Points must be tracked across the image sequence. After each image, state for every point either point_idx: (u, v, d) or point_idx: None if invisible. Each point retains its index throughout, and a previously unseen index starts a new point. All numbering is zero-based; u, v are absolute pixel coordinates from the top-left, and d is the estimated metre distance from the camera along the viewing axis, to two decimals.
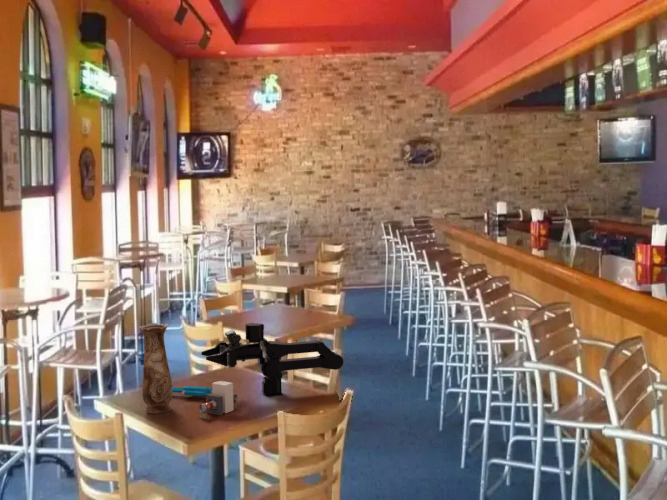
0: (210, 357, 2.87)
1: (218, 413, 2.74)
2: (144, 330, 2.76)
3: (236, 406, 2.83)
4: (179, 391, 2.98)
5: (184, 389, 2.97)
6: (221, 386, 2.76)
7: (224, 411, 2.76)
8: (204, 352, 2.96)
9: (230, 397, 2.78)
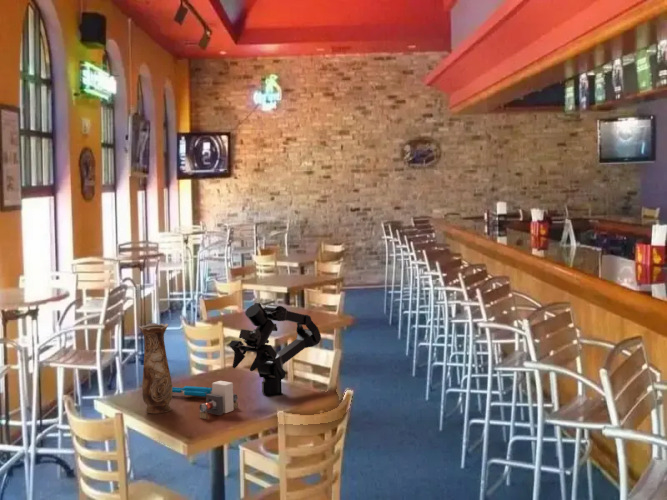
0: (253, 366, 2.85)
1: (218, 413, 2.74)
2: (144, 330, 2.76)
3: (236, 406, 2.83)
4: (179, 391, 2.98)
5: (184, 389, 2.97)
6: (221, 386, 2.76)
7: (224, 411, 2.76)
8: (234, 364, 2.90)
9: (230, 397, 2.78)
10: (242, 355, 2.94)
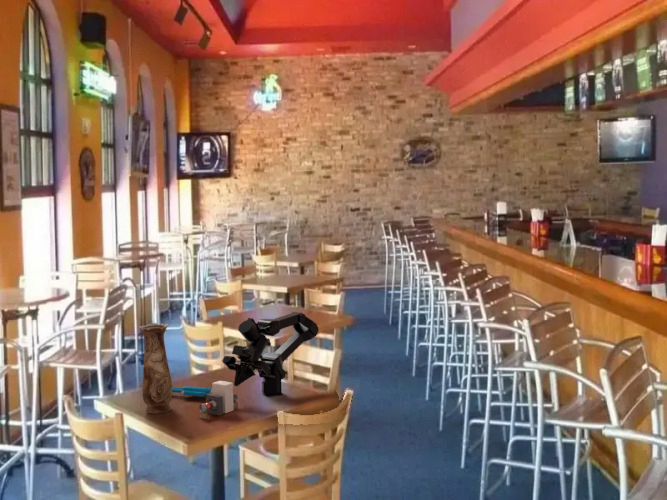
0: (238, 381, 2.84)
1: (218, 413, 2.74)
2: (144, 330, 2.76)
3: (236, 406, 2.83)
4: (179, 391, 2.98)
5: (183, 389, 2.97)
6: (221, 386, 2.76)
7: (224, 411, 2.76)
8: None
9: (230, 397, 2.78)
10: None
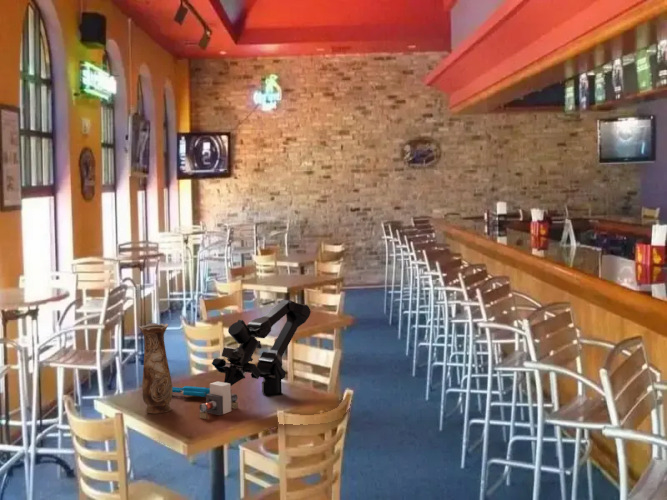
0: None
1: (218, 413, 2.74)
2: (144, 330, 2.76)
3: (236, 406, 2.83)
4: (178, 391, 2.98)
5: (183, 389, 2.97)
6: (219, 387, 2.75)
7: None
8: None
9: (228, 398, 2.77)
10: None
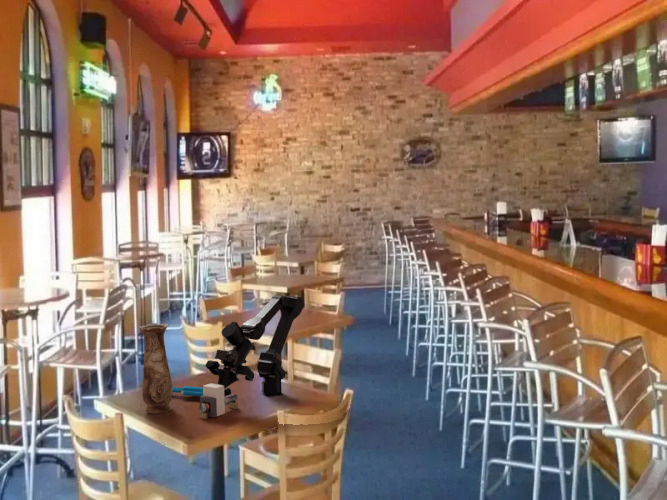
0: None
1: (212, 415, 2.71)
2: (144, 330, 2.76)
3: (236, 406, 2.83)
4: (178, 391, 2.98)
5: (183, 389, 2.97)
6: (212, 389, 2.72)
7: None
8: None
9: (221, 400, 2.74)
10: None
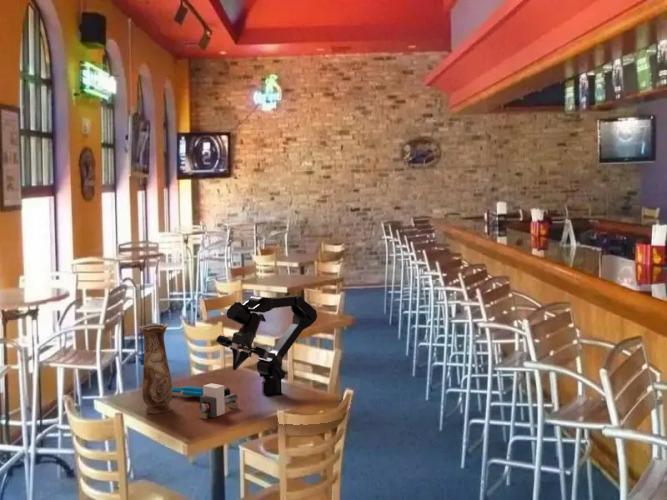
0: (237, 366, 2.87)
1: (212, 415, 2.71)
2: (144, 330, 2.76)
3: (236, 406, 2.83)
4: (178, 391, 2.98)
5: (183, 389, 2.97)
6: (212, 389, 2.72)
7: None
8: None
9: (221, 400, 2.74)
10: (239, 353, 2.90)
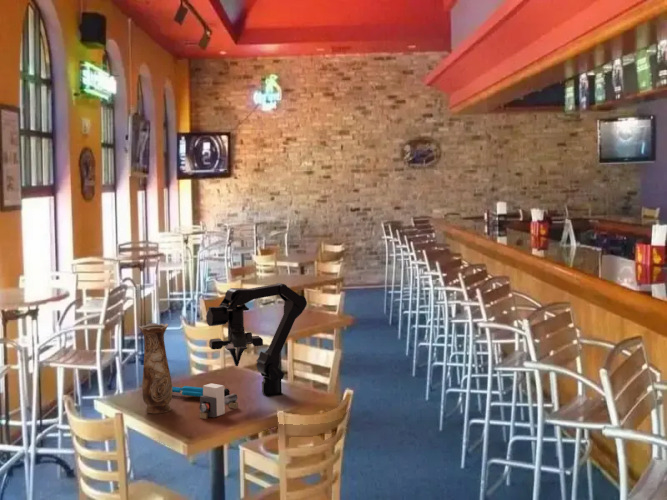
0: None
1: (212, 415, 2.71)
2: (144, 330, 2.76)
3: (236, 406, 2.83)
4: (178, 391, 2.98)
5: (183, 389, 2.97)
6: (212, 389, 2.72)
7: None
8: None
9: (221, 400, 2.74)
10: None
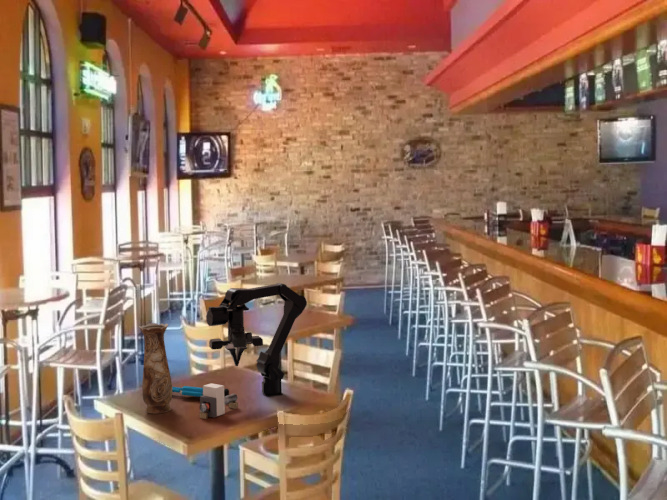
0: None
1: (212, 415, 2.71)
2: (144, 330, 2.76)
3: (236, 406, 2.83)
4: (178, 391, 2.98)
5: (182, 389, 2.97)
6: (212, 389, 2.72)
7: None
8: None
9: (221, 400, 2.74)
10: None
